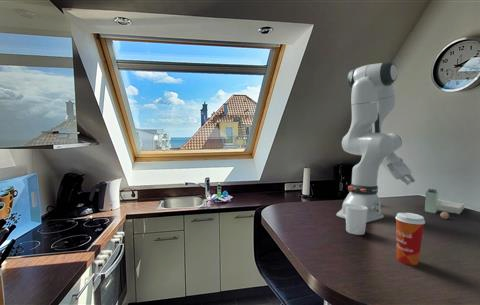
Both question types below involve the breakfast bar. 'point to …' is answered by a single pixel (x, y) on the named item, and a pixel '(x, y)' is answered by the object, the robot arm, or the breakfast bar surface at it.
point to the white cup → (356, 219)
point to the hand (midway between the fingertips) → (411, 183)
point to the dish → (450, 206)
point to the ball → (444, 215)
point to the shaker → (431, 201)
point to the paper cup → (409, 237)
